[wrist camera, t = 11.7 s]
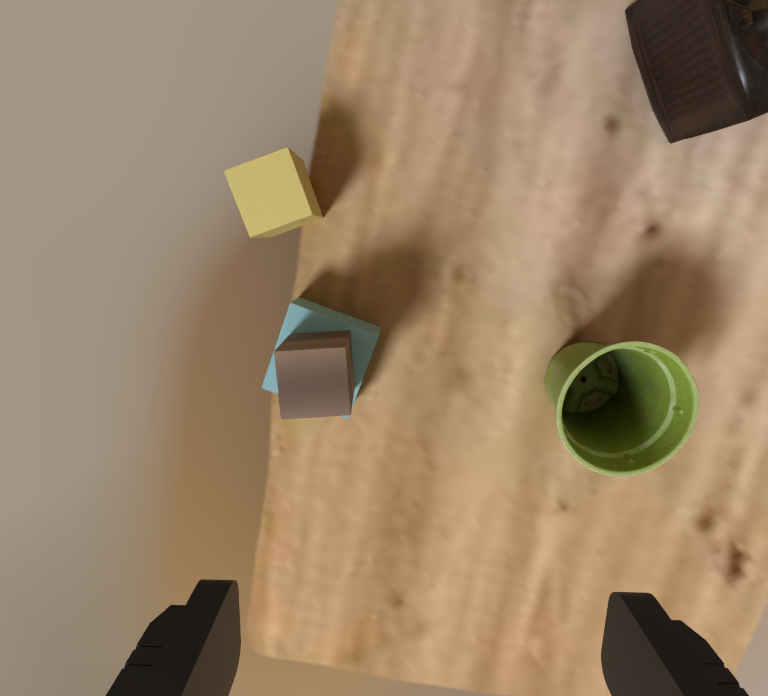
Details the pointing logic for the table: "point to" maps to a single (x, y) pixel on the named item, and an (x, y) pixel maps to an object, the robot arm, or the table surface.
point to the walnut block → (315, 374)
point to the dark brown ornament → (701, 62)
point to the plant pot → (622, 405)
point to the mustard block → (273, 193)
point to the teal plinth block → (322, 319)
